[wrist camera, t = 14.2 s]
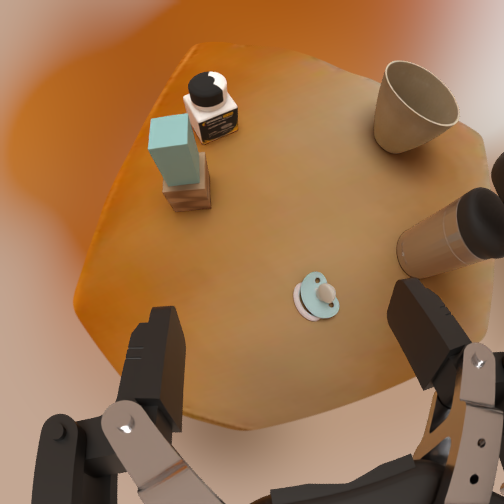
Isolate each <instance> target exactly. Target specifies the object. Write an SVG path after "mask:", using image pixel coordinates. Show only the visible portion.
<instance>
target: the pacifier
mask: <svg viewBox="0 0 504 504" xmlns="http://www.w3.org/2000/svg"><path fill="white" fill-rule="evenodd" d="M316 278H319V279H320V282H319V283H316V282H315V279H316ZM300 290H301V297H302V300H303V303H304V305H305V306H306V308H307V309H308V310H309V311H310V312H311V313H312V314H313V315H311V314H309V313H308V312H306V311H305V310H304V308H303V307H302V305H301V303H300V299H299V293H300ZM293 297H294V302H295V305H296V307H297V309H298V311H299V312H300V314H301V315H302V316H303V317H305V318H306V319H308V320H311V321H317V320H320V319H321V318H330V317H333V316H334V315H336V314H337V312H338V310H339V302H338V300H337V298H336V291H335V289H334V287H333V286H331V285H330V284H327V281H326V278H325V277H324V275H323V274H321V273H320V272H312V273H310V274H308V275H307V276H306V277H305V278H304V280H303V282H301V283H299V284H298V285H296V287H295V289H294V293H293ZM329 303H333V304H334V306H333V307H332V308H331V307H329Z"/></svg>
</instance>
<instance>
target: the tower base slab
mask: <svg viewBox="0 0 504 504" xmlns="http://www.w3.org/2000/svg"><path fill="white" fill-rule="evenodd" d="M170 205H171V206H172V208H173V209H174V211H175V212H180V211H190V210H199V209H209V208H211V196H210V177H209V171H208V200H199V201H186V202H173V203H170Z"/></svg>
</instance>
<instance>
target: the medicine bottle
mask: <svg viewBox="0 0 504 504" xmlns="http://www.w3.org/2000/svg"><path fill="white" fill-rule="evenodd" d="M188 89H189V94H188V95H185V96H184V97H183V99H184V103H185V107H186V111H187V113H188V115H189V119H190V123H191V125H192V127H193V128H194V130H195V132H196V134H197V135H198V137H199V139H200V141H201V142H202V144H206V143H209V142H211V141H213V140H215V139H218V138H220V137H222V136H225V135H227V134H229V133H232V132H234V131H237V130H238V107H237V105H236V103H235V102H234V101H233V99H232V98H231V96H230V95H229V94H228V92H227V82H226V79H225V77H224V76H222V75H221V74H219V73H216V72H203V73H200V74H198V75H196V76H194V77H193V78H192V79H191V80H190V82H189V84H188Z"/></svg>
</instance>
